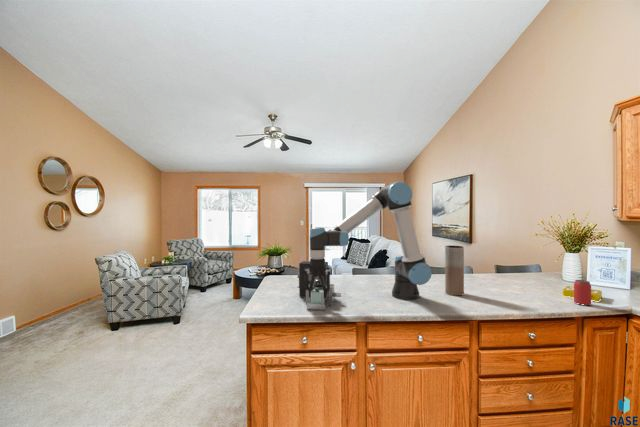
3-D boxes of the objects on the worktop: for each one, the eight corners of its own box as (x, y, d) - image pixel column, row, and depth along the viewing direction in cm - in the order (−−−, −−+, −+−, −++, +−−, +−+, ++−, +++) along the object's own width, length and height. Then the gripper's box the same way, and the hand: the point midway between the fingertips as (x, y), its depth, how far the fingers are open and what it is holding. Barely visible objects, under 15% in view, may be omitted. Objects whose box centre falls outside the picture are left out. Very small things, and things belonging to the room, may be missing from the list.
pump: (323, 303, 148) (323, 286, 148) (321, 306, 142) (321, 289, 142) (314, 302, 149) (313, 286, 149) (311, 306, 143) (311, 289, 143)
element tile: (599, 303, 151) (598, 294, 151) (562, 297, 163) (562, 289, 163) (602, 298, 161) (602, 289, 161) (567, 292, 172) (567, 284, 172)
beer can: (587, 307, 145) (587, 283, 145) (571, 303, 150) (571, 280, 151) (593, 305, 148) (593, 281, 148) (577, 301, 154) (577, 279, 154)
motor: (341, 301, 155) (341, 278, 155) (338, 311, 139) (338, 286, 139) (309, 299, 158) (308, 277, 158) (301, 309, 142) (301, 285, 142)
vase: (464, 292, 171) (464, 246, 171) (462, 296, 163) (462, 247, 163) (446, 290, 176) (446, 245, 176) (444, 294, 168) (443, 246, 168)
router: (328, 298, 161) (328, 262, 161) (296, 296, 165) (296, 261, 165) (330, 294, 169) (330, 260, 169) (300, 292, 173) (300, 259, 173)
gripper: (336, 257, 148) (336, 302, 148) (301, 256, 151) (302, 301, 151) (334, 259, 140) (334, 307, 140) (298, 258, 143) (298, 305, 143)
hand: (317, 304), depth 145 cm, fingers closed on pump, 5 cm apart
